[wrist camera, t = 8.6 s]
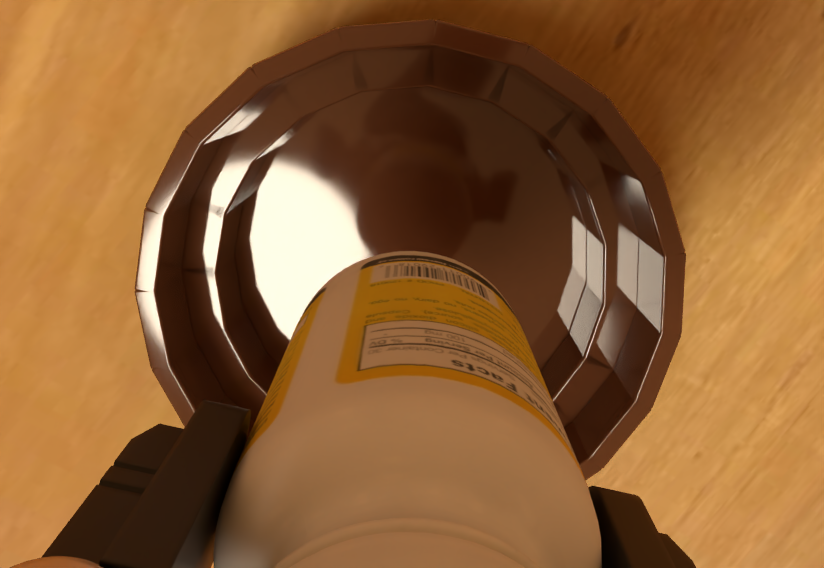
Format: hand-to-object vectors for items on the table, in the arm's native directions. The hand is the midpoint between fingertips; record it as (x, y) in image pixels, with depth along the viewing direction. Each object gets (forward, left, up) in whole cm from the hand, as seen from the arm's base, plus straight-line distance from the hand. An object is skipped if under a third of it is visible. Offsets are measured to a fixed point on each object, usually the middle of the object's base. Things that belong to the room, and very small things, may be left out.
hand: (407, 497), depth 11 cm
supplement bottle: (0, 0, -6) cm, 6 cm away
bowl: (0, 0, -14) cm, 14 cm away
